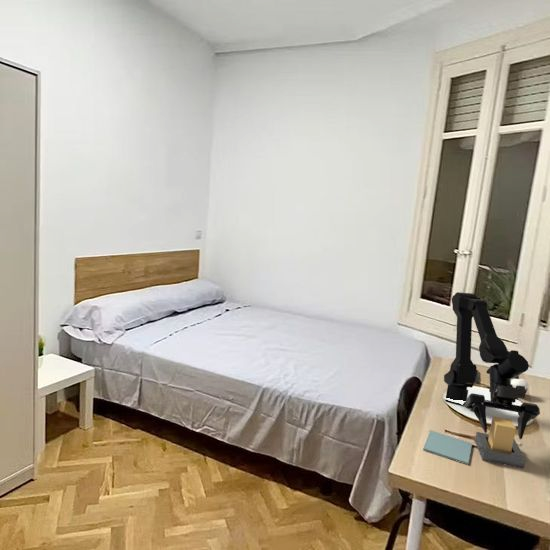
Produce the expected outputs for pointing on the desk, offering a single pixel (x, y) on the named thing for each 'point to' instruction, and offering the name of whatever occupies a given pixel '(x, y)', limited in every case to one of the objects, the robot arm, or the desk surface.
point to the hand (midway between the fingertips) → (503, 435)
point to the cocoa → (519, 383)
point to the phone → (477, 377)
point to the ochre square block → (501, 434)
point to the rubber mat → (448, 447)
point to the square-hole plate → (499, 452)
